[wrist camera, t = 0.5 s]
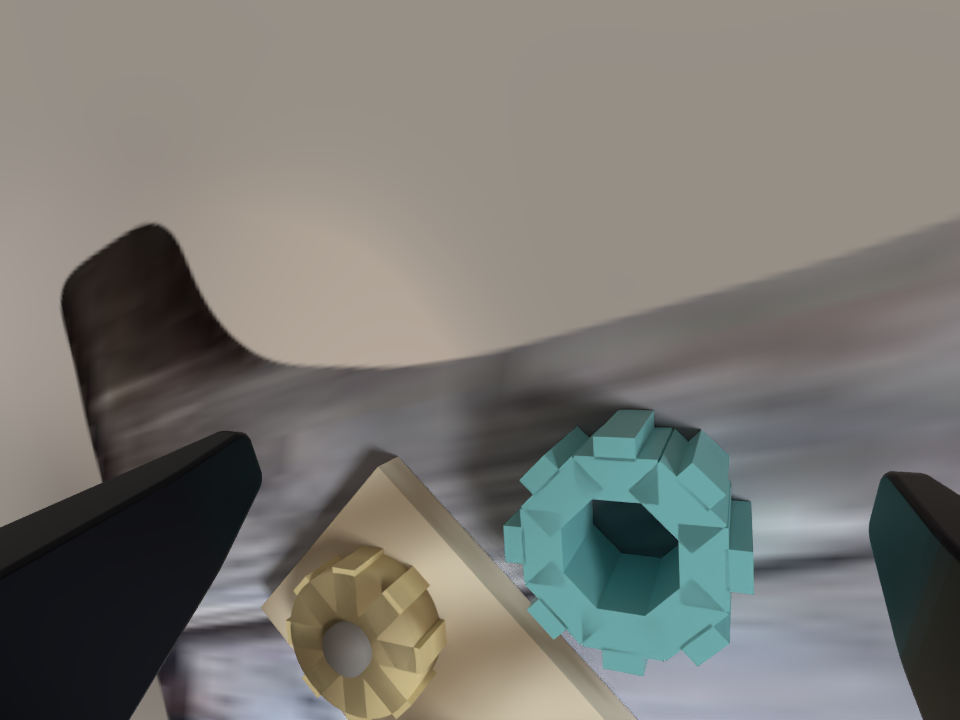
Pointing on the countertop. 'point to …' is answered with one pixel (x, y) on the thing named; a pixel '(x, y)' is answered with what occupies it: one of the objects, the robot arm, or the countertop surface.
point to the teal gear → (626, 577)
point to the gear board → (472, 606)
